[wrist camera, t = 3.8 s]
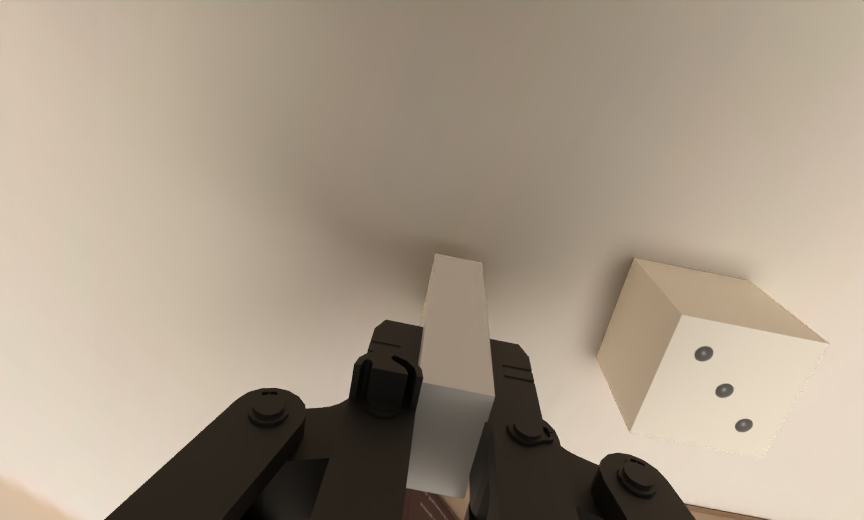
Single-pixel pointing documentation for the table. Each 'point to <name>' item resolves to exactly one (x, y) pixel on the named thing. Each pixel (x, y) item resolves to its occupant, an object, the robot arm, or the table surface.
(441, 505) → the box
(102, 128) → the table surface
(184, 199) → the table surface
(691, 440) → the die
